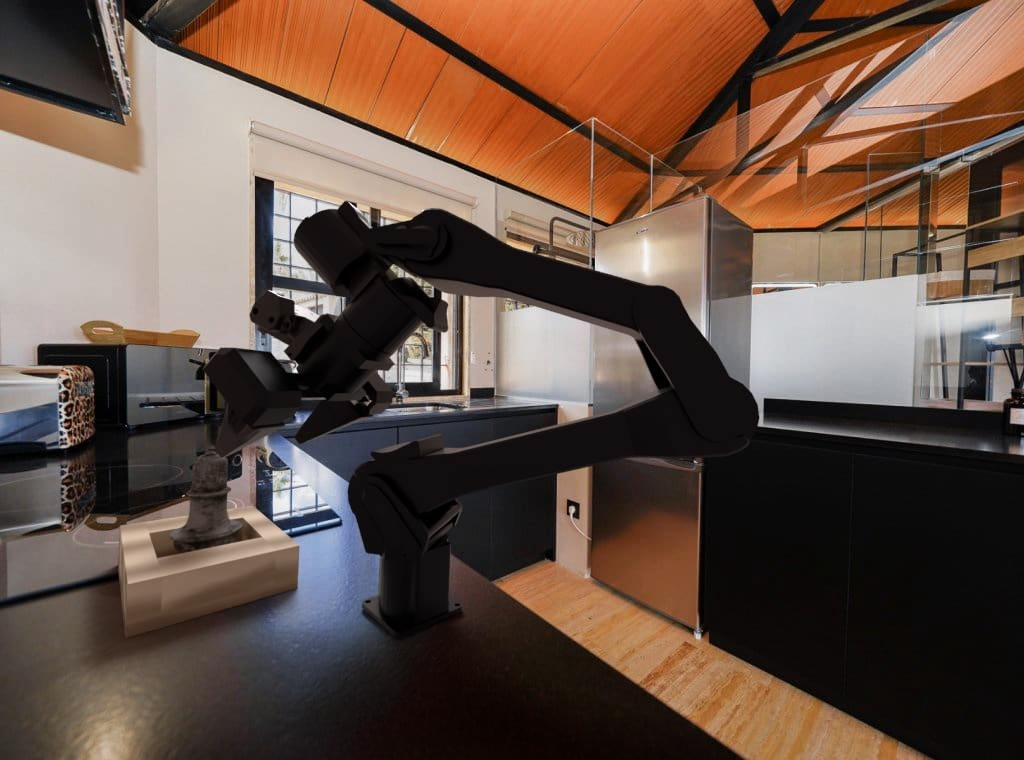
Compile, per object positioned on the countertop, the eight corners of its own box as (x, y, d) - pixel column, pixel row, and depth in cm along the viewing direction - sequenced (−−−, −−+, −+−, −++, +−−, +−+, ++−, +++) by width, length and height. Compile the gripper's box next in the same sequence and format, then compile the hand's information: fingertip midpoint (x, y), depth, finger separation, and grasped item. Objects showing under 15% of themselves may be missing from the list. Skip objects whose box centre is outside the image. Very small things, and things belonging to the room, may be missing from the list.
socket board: (297, 587, 40) (299, 545, 40) (125, 638, 31) (128, 584, 31) (251, 538, 52) (252, 505, 52) (117, 564, 43) (119, 525, 43)
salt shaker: (233, 574, 40) (238, 447, 40) (156, 583, 38) (162, 449, 38) (247, 551, 45) (251, 440, 45) (180, 557, 43) (186, 440, 43)
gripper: (372, 294, 48) (287, 386, 51) (229, 235, 30) (107, 384, 33) (433, 363, 46) (342, 456, 49) (319, 344, 28) (183, 494, 31)
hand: (263, 446), depth 40 cm, fingers open, 9 cm apart
